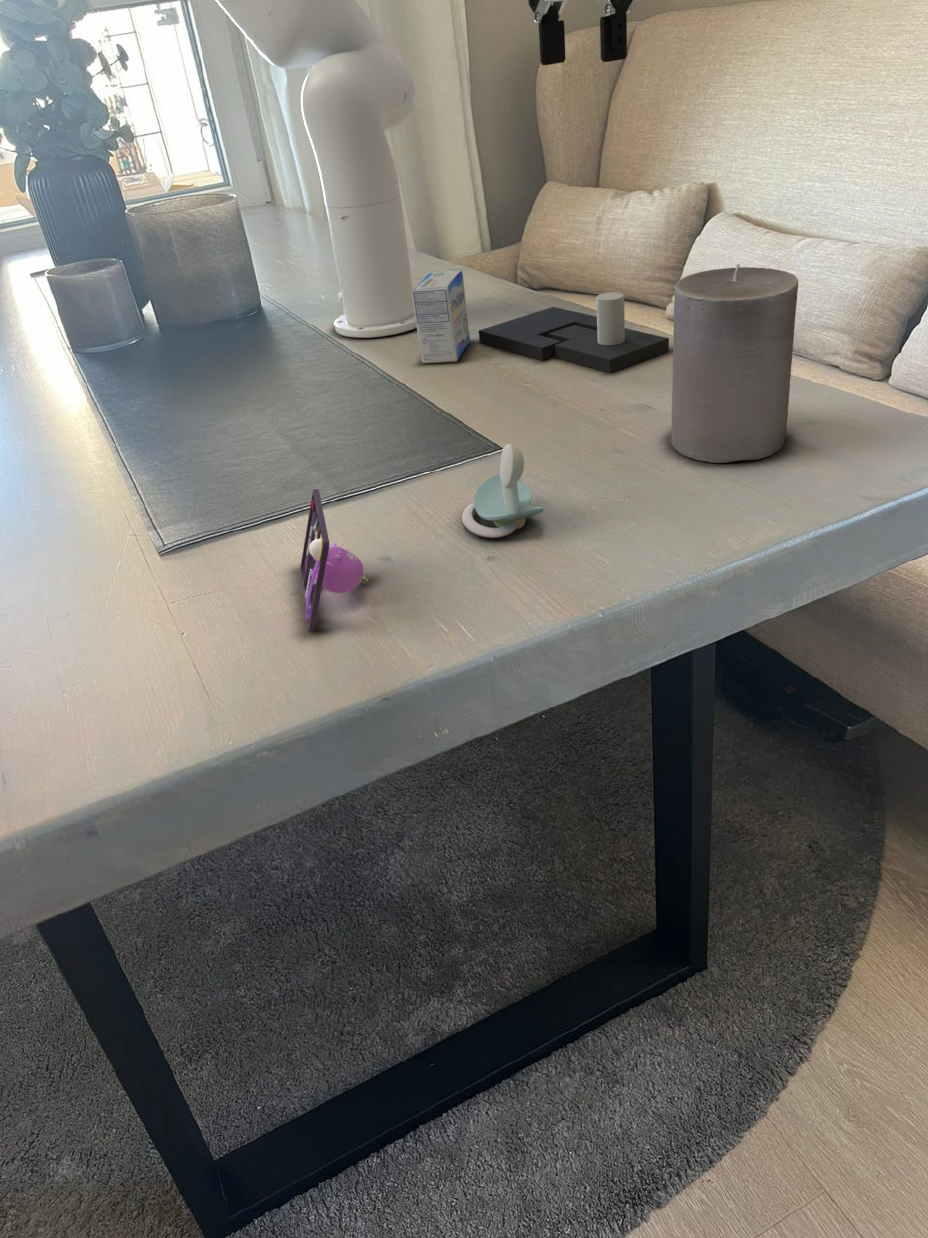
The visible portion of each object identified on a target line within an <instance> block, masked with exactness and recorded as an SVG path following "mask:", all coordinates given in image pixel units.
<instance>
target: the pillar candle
mask: <svg viewBox="0 0 928 1238" xmlns="http://www.w3.org/2000/svg"><path fill="white" fill-rule="evenodd" d="M798 291H799V279H798V277H797V276H796V275H795V274H794V273H790V272H788V271H786V270H781V269H774V268H765V267H756V266H755V267H753V266H752V267H748V266H745V267H744V266H743V267H742V266H740V263H738V264H736V267H724V268H716V269H710V270H704V271H700V272H699V271H698V272H695V273H692V274H689V275H686V276H684V277H682V278H680V279H679V280H677V281H676V283H675V285H674V296H673V297H674V299H673V300H674V301H673V333H672V334H673V338H672V339H673V341H672V348H673V349H672V388H671V389H672V390H671V392H672V393H671V433H670V434H671V436H670V442H671V446H672V447H673V449H674V450H675V451H676V452H678V453H679V454H681V455H682V456H685V457H688V458H689V459H694V460H696V461H700V462H708V463H713V464H722V463H723V464H725V463H731V462H738V461H739V462H740V461H754V460H755V461H756V460H761V459H765V458H768V457H770V456H772V455H774V454H775V453H777V452H779V451H780V450H781V449H782V447H783V446H784V444H785V439H786V435H787V424H788V417H789V402H790V391H791V389H790V388H791V378H792V364H793V351H794V340H795V339H794V338H795V325H796V313H797V303H798V302H797V301H798Z"/></svg>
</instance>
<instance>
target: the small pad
mask: <svg viewBox="0 0 928 1238" xmlns="http://www.w3.org/2000/svg"><path fill="white" fill-rule="evenodd" d="M595 298H596V317H597V331H596V330H592V329H588V328H584V327H580V326H576V325H573V326H570V327H567V328H564V329H561V330H558V331H555V332H552V333H549V338H551V339H555V340H559V341H562V343H559V344H556V345H555V358H556V359H559V360H563V361H566V362H570V363H573V364H577V365H580V366H584V367H588V368H590V369H594V370H598V371H601V372H605V373H608V374H612V373H614V372H617V371H619V370H623V369H625V368H628V367H630V366H633V365H636V364H638V363H641V362H643V361H647V360H649V359H651V358H654V357H657V356H660V355H663V354H665V353H668V352H669V351H670V338H669V337H665V336H662V335H657V334H652V333H648V332H644V331H641V330H640V331H639V330H635V329H630V328H626V326H625V324H626V323H625V322H626V321H625V294H624V293H622V292H617V291H610V292H604V293H600V294H598V295H597V296H596V297H595Z"/></svg>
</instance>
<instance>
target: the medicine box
mask: <svg viewBox="0 0 928 1238" xmlns="http://www.w3.org/2000/svg"><path fill="white" fill-rule="evenodd" d="M464 282H465V281H464V273H463V271H462V270H444V271H436V272H431V273H427V275H426V276H425V277H424V278H423V279H422V280H421V281H420V282H419V283H418V284H417V285H416V286H415V287H414V289H413V291H412V297H413V305H414V312H415V319H416V325H417V328H416V332H417V338H418V346H419V352H420V358H421V363H423V364H443V363H458V361H459V359H460V358H461V356H462V354H463V352H464V351H465V349H466V348H467V346H468V345H469V343H470V342H471V336H470V328H469V326H470V325H469V318H468V311H467V310H468V309H467V301H466V291H465V283H464Z"/></svg>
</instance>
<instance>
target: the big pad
mask: <svg viewBox="0 0 928 1238" xmlns="http://www.w3.org/2000/svg"><path fill="white" fill-rule="evenodd" d="M573 325H576V326H580V327H584V328H588V329H592V330H596V331H597V315H591V314H587V313H583V312H579V311H578V312H577V311H574V310H569V309H565V308H560V307H556V306H551V307H548V308H545V309H542V310H538V311H535V312H532V313H529V314H526V315H523V316H519V317H517V318H514V319H510V320H507V321H504V322H501V323H497V324H494V325H491V326H488V327H485V328H481V329H478V339H479V343H480V344H483V345H488V346H491V347H493V348H498V349H501V350H504V351H508V352H512V353H514V354H518V355H521V356H526V357H529V358H532V359H535V360H539V361H546V360H548V359H552V358H554V357H555V345H556V344H559V343H562V341H559V340H555V339H551V338H549V333H552V332H555V331H558V330H561V329H564V328H567V327H570V326H573ZM555 358H556V357H555Z"/></svg>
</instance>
